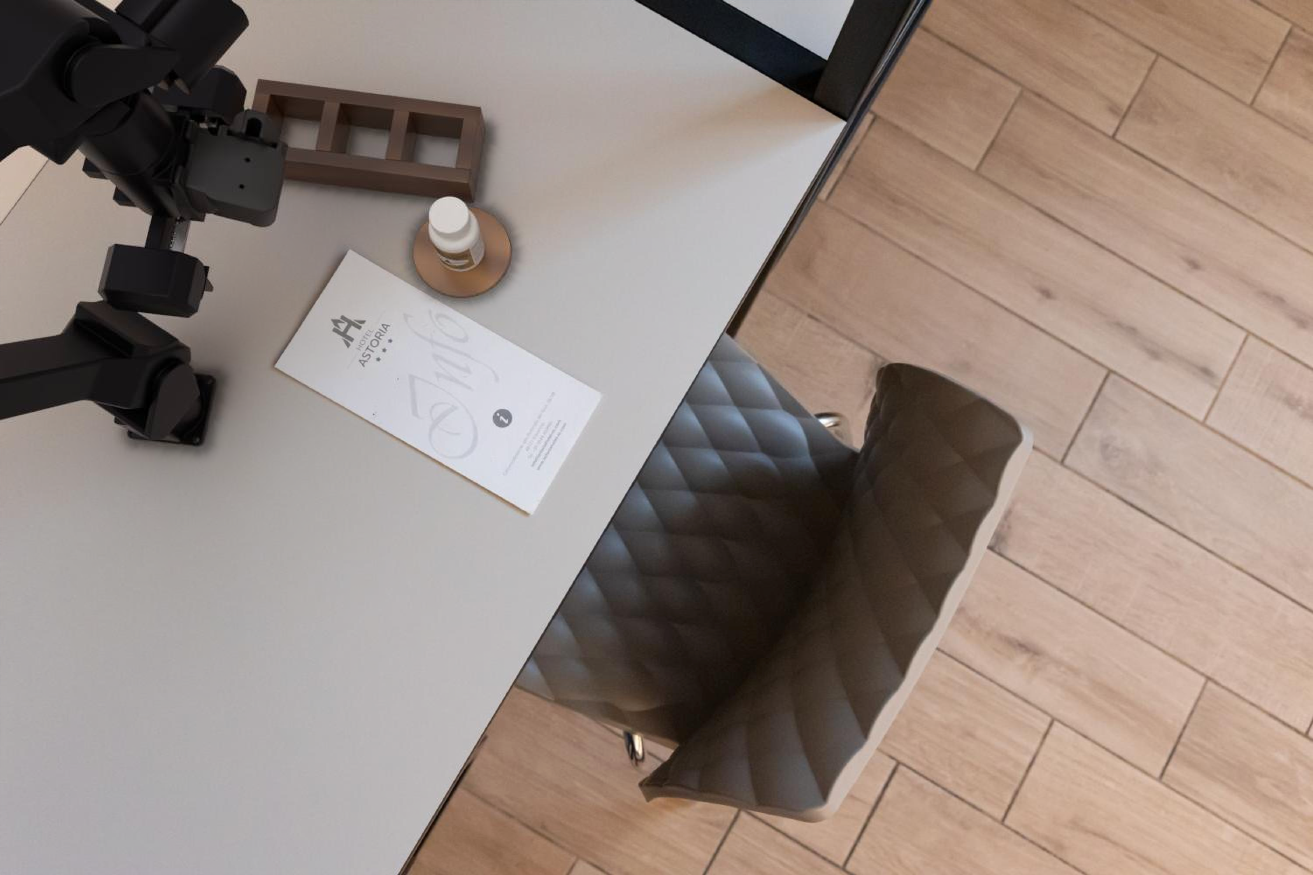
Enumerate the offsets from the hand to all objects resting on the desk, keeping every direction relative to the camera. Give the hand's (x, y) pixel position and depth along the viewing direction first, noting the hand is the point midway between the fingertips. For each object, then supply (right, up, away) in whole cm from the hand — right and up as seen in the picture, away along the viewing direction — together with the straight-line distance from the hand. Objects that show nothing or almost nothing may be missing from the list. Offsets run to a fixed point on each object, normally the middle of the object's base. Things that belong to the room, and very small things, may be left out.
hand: (219, 235), depth 79 cm
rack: (+8, +11, +15) cm, 20 cm away
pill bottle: (+17, +1, +13) cm, 21 cm away
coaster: (+17, +1, +14) cm, 22 cm away
